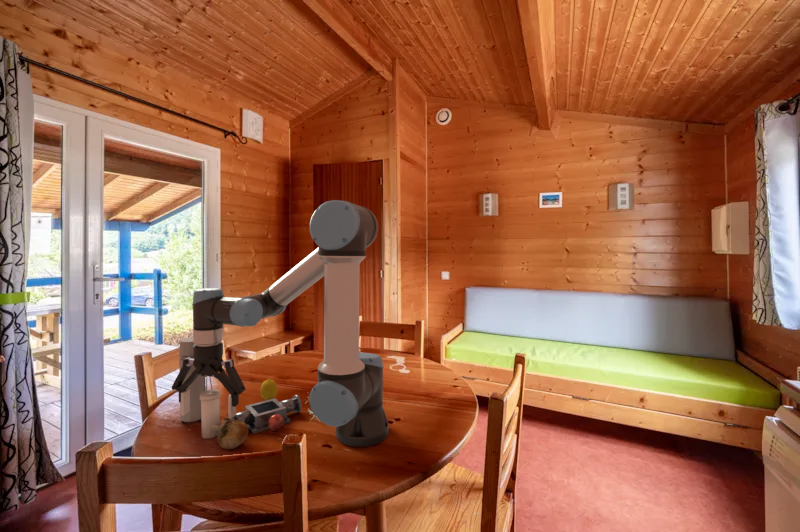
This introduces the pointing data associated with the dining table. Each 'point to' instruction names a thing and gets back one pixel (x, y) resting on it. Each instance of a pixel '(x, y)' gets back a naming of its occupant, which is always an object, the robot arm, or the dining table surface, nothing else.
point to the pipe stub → (210, 412)
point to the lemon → (268, 389)
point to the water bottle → (196, 385)
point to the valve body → (268, 414)
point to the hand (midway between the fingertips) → (208, 416)
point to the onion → (231, 433)
